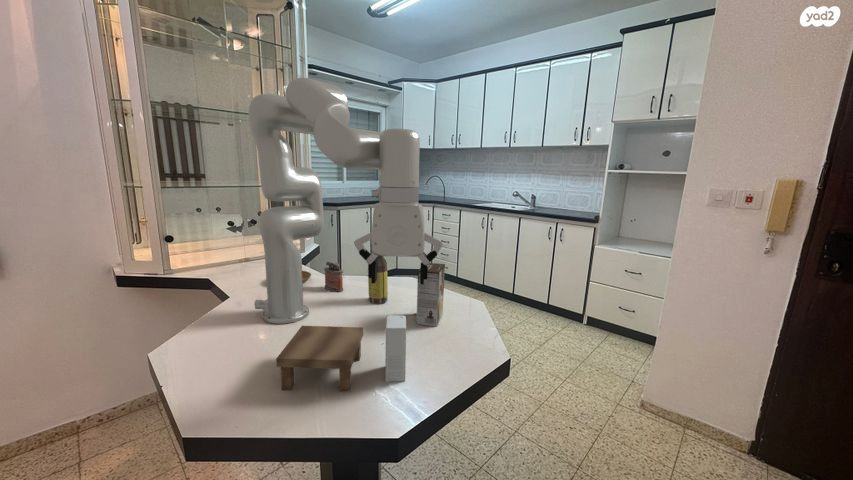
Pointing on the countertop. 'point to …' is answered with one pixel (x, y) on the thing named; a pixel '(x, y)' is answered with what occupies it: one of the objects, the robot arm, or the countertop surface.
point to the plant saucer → (305, 276)
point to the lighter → (333, 277)
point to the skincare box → (395, 348)
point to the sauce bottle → (379, 283)
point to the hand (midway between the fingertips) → (398, 282)
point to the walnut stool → (321, 352)
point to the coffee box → (431, 296)
